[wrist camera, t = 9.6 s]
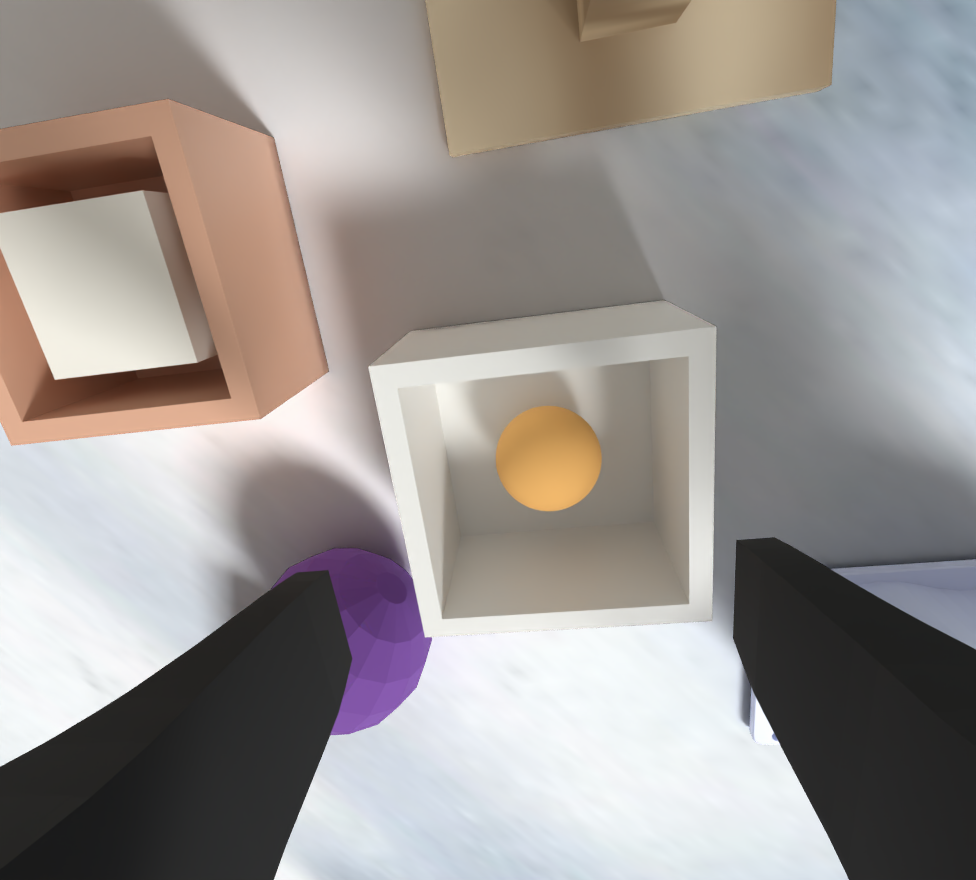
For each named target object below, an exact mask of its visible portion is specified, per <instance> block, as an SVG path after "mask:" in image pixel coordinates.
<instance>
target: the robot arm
mask: <svg viewBox="0 0 976 880" xmlns="http://www.w3.org/2000/svg"><path fill="white" fill-rule="evenodd" d="M733 639H734V642H735V644H736V647H737V650H738V653H739V655H740V658H741V661H742V664H743V667H744V669H745V672H746V674H747V677H748V680H749V682H750V685H751V707H750V728H749V730H750V734H751V736H752V738H753V740H754V741H755V742H756V743H758V744H761V745H778V744H780V745H781V747H782V749H783V751H784V753H785V755H786V757H787V759H788V761H789V762H790V764H791V766H792V768H793V770H794V772H795V774H796V776H797V778H798V780H799V781H800V783H801V785H802V787H803V789H804V791H805V793H806V795H807V797H808V799H809V801H810V802H811V804H812V806H813V808H814V810H815V812H816V814H817V816H818V818H819V820H820V821H821V823H822V825H823V827H824V829H825V831H826V833H827V835H828V837H829V839H830V841H831V843H832V845H833V847H834V849H835V851H836V853H837V855H838V857H839V859H840V862H841V864H842V866H843V868H844V870H845V872H846V874H847V876H848V879H849V880H976V559H973V560H958V561H943V562H928V563H913V564H897V565H882V566H867V567H852V568H837V569H829V568H828V567H826V566H824V565H823V564H821V563H819V562H817V561H816V560H814V559H812V558H811V557H809V556H807V555H806V554H804V553H802V552H800V551H799V550H797V549H795V548H793V547H792V546H790V545H788V544H786V543H784V542H782V541H780V540H778V539H777V538H760V539H746V540H736V570H735V599H734V628H733ZM351 663H352V655H351V652H350V648H349V644H348V640H347V637H346V633H345V629H344V626H343V622H342V618H341V615H340V611H339V607H338V604H337V600H336V596H335V593H334V589H333V585H332V582H331V578H330V574H329V571H328V570H322V571H309V572H297V573H295V574H293V575H292V576H290V577H289V578H287V579H285V580H284V581H282V582H281V583H279V584H278V585H277V586H275V587H274V588H272V589H271V590H270V591H268V592H267V593H265V594H264V595H263V596H261V597H260V598H259V599H257V600H256V601H255V602H253V603H252V604H251V605H249V606H248V607H247V608H245V609H244V610H243V611H241V612H240V613H239V614H237V615H236V616H234V617H233V618H232V619H230V620H229V621H228V622H226V623H225V624H224V625H222V626H221V627H220V628H218V629H217V630H216V631H214V632H213V633H212V634H210V635H209V636H207V637H206V638H205V639H203V640H202V641H201V642H199V643H198V644H197V645H195V646H194V647H192V648H191V649H189V650H188V651H187V652H185V653H184V654H182V655H181V656H179V657H178V658H177V659H175V660H174V661H172V662H171V663H169V664H168V665H166V666H165V667H164V668H162V669H161V670H159V671H158V672H156V673H155V674H153V675H152V676H151V677H149V678H148V679H146V680H145V681H143V682H142V683H141V684H139V685H138V686H136V687H135V688H133V689H132V690H130V691H129V692H127V693H126V694H124V695H122V696H121V697H119V698H118V699H116V700H115V701H113V702H111V703H110V704H108V705H107V706H105V707H104V708H102V709H100V710H99V711H97V712H96V713H94V714H92V715H91V716H89V717H87V718H86V719H84V720H82V721H81V722H79V723H77V724H76V725H74V726H72V727H71V728H69V729H67V730H66V731H64V732H62V733H61V734H59V735H57V736H56V737H54V738H52V739H50V740H49V741H47V742H45V743H43V744H42V745H40V746H38V747H36V748H34V749H32V750H31V751H29V752H27V753H25V754H23V755H21V756H19V757H18V758H16V759H14V760H12V761H10V762H8V763H6V764H5V765H3V766H1V767H0V880H274V877H275V875H276V872H277V869H278V866H279V863H280V861H281V858H282V855H283V852H284V850H285V847H286V844H287V842H288V839H289V837H290V834H291V832H292V829H293V827H294V824H295V822H296V819H297V817H298V814H299V812H300V809H301V807H302V804H303V802H304V799H305V797H306V794H307V792H308V789H309V787H310V784H311V782H312V779H313V777H314V774H315V772H316V769H317V767H318V764H319V762H320V760H321V757H322V754H323V752H324V749H325V747H326V744H327V742H328V739H329V737H330V734H331V731H332V729H333V726H334V724H335V721H336V718H337V716H338V713H339V710H340V706H341V702H342V699H343V695H344V691H345V688H346V683H347V679H348V675H349V671H350V667H351Z"/></svg>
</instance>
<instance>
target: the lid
mask: <svg viewBox="0 0 976 880" xmlns="http://www.w3.org/2000/svg"><path fill="white" fill-rule="evenodd" d="M425 3H426V9H427V16H428V22H429V28H430V35H431V41H432V47H433V54H434V60H435V67H436V73H437V79H438V86H439V92H440V98H441V105H442V111H443V117H444V124H445V130H446V136H447V143H448V149H449V155H450V156H451V157H457V156H463V155H469V154H474V153H480V152H485V151H491V150H496V149H502V148H507V147H513V146H518V145H524V144H529V143H535V142H541V141H546V140H552V139H557V138H563V137H568V136H574V135H579V134H585V133H590V132H596V131H601V130H607V129H612V128H618V127H624V126H629V125H635V124H640V123H646V122H651V121H657V120H662V119H668V118H673V117H679V116H684V115H690V114H696V113H701V112H707V111H712V110H718V109H723V108H729V107H734V106H740V105H745V104H751V103H756V102H762V101H768V100H773V99H779V98H784V97H790V96H795V95H801V94H806V93H812V92H817V91H820V90H822V89H824V88H826V87H828V86H830V85H831V83H832V66H833V48H834V31H835V14H836V0H425Z"/></svg>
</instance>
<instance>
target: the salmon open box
mask: <svg viewBox="0 0 976 880" xmlns="http://www.w3.org/2000/svg"><path fill="white" fill-rule="evenodd" d="M141 190H144V191H154V192H163V193H169V196H170V199H171V203H172V206H173V209H174V212H175V216H176V219H177V222H178V225H179V229H180V232H181V235H182V239H183V242H184V245H185V248H186V252H187V255H188V258H189V262H190V265H191V268H192V271H193V275H194V278H195V281H196V284H197V288H198V291H199V294H200V298H201V301H202V304H203V307H204V311H205V314H206V317H207V321H208V324H209V327H210V330H211V334H212V337H213V340H214V344H215V347H216V350H217V353H218V355H216V356H213V357H210V358H208V359H205V360H203V361H200V362H198V363H190V364H182V365H173V366H165V367H157V368H149V369H140V370H132V371H124V372H115V373H107V374H99V375H90V376H82V377H74V378H66V379H57V380H55V379H54V376H53V374H52V372H51V369H50V367H49V364H48V362H47V359H46V357H45V355H44V352H43V350H42V347H41V345H40V343H39V340H38V338H37V335H36V333H35V331H34V328H33V326H32V323H31V321H30V319H29V316H28V314H27V311H26V309H25V307H24V304H23V302H22V299H21V297H20V295H19V292H18V290H17V287H16V285H15V283H14V280H13V278H12V275H11V273H10V271H9V268H8V266H7V263H6V261H5V259H4V256H3V254H2V251H1V249H0V422H1V424H2V426H3V428H4V431H5V433H6V435H7V437H8V439H9V441H10V444H11V446H12V445H21V444H31V443H40V442H50V441H59V440H68V439H78V438H87V437H96V436H106V435H115V434H125V433H134V432H143V431H153V430H162V429H171V428H181V427H190V426H200V425H209V424H218V423H228V422H237V421H247V420H256V419H261V418H263V417H264V416H266V415H267V414H269V413H270V412H271V411H273V410H274V409H276V408H277V407H279V406H280V405H281V404H283V403H284V402H286V401H287V400H289V399H290V398H292V397H293V396H294V395H296V394H297V393H299V392H300V391H302V390H303V389H304V388H306V387H307V386H309V385H310V384H312V383H313V382H314V381H316V380H317V379H319V378H320V377H322V376H323V375H325V374H326V373H327V372H329V369H328V365H327V361H326V356H325V352H324V348H323V344H322V339H321V335H320V331H319V327H318V322H317V318H316V314H315V310H314V305H313V301H312V297H311V293H310V289H309V284H308V280H307V276H306V272H305V267H304V263H303V259H302V255H301V250H300V246H299V242H298V238H297V233H296V229H295V225H294V221H293V217H292V212H291V208H290V204H289V200H288V195H287V191H286V187H285V183H284V178H283V174H282V170H281V166H280V161H279V157H278V153H277V149H276V145H275V140H274V137H271V136H268V135H265V134H263V133H260V132H257V131H255V130H252V129H249V128H246V127H244V126H241V125H238V124H236V123H233V122H230V121H227V120H225V119H222V118H219V117H216V116H214V115H211V114H208V113H206V112H203V111H200V110H197V109H195V108H192V107H189V106H186V105H184V104H181V103H178V102H176V101H173V100H170V99H164V100H158V101H153V102H147V103H142V104H136V105H131V106H125V107H119V108H114V109H108V110H103V111H97V112H92V113H86V114H81V115H75V116H69V117H64V118H58V119H53V120H47V121H42V122H36V123H30V124H25V125H19V126H14V127H8V128H3V129H0V213H4V212H10V211H17V210H23V209H29V208H35V207H42V206H48V205H54V204H60V203H67V202H73V201H79V200H85V199H91V198H98V197H104V196H110V195H116V194H123V193H129V192H135V191H141Z"/></svg>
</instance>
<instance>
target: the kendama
mask: <svg viewBox="0 0 976 880" xmlns="http://www.w3.org/2000/svg"><path fill="white" fill-rule="evenodd" d="M322 570H328V571H329V574H330V578H331V582H332V585H333V589H334V593H335V596H336V600H337V604H338V607H339V611H340V615H341V618H342V622H343V626H344V629H345V633H346V637H347V640H348V644H349V648H350V652H351V655H352V663H351V667H350V671H349V675H348V679H347V683H346V688H345V691H344V695H343V699H342V702H341V706H340V710H339V713H338V716H337V718H336V721H335V724H334V726H333V729H332V731H331V734H330V735H342V734H350V733H353V732H356V731H359V730H363V729H366V728H369V727H372V726H375V725H378V724H379V723H380V722H381V721H382V720H383V719H385V718H386V717H387V716H388V715H389V714H390V713H392V712H393V711H394V710H395V709H396V708H397V707H398V706H399V705H400V704H401V703H402V702H403V701H404V700H405V699H406V698H407V697H408V696H409V695H410V694H411V693H412V692H413V690H414V689H415V688H416V687H417V685H418V682H419V679H420V676H421V673H422V670H423V668H424V665H425V662H426V658H427V655H428V651H429V648H430V644H431V641H432V637H425V635H424V630H423V625H422V621H421V616H420V611H419V606H418V602H417V597H416V592H415V587H414V583H413V579H412V577H411V576H410V575H409V574H408V573H407V571H406V570H405V569H403V568H402V567H401V566H399V565H398V564H396V563H395V562H394V561H392V560H391V559H389V558H386V557H383V556H380V555H377V554H375V553H371V552H368V551H365V550H362V549H358V548H334V549H331V550H328V551H326V552H323V553H320V554H317V555H315V556H312V557H310V558H308V559H306V560H304V561H302V562H300V563H298V564H296V565H294V566H291V567H289V568H288V569H287V571H286V572H285V573H284V574H283V575H282V576H281V578H280V579H279V580H278V581H277V582H276V584H275V585H274V586H273V587H272V588H274V587H275V586H277V585H278V584H279V583H281V582H282V581H284V580H285V579H287V578H289V577H290V576H292V575H293V574H295V573H297V572H309V571H322Z"/></svg>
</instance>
